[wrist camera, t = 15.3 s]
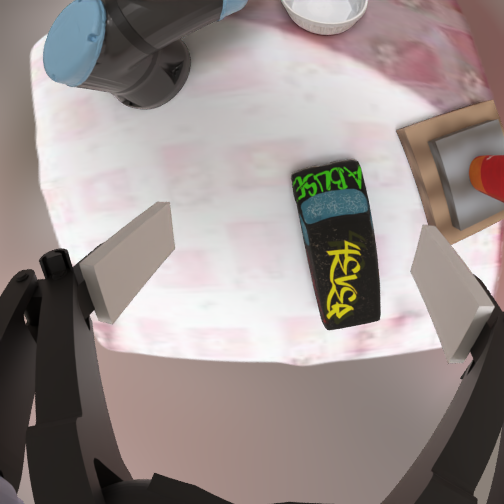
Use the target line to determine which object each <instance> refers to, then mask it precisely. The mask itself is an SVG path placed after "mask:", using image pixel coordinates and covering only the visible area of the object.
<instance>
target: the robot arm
mask: <svg viewBox="0 0 504 504" xmlns="http://www.w3.org/2000/svg"><path fill="white" fill-rule="evenodd" d="M247 1H248V0H75V1H73V2H72V3H70V4H69V5H68V6H67V7H66V8H65V9H64V10H63V11H62V12H61V13H60V14H59V15H58V17H57V18H56V20H55V21H54V23H53V25H52V27H51V28H50V31H49V33H48V36H47V39H46V42H45V45H44V51H43V63H44V68H45V71H46V73H47V75H48V76H49V77H50V78H51V79H52V80H53V81H55V82H58V83H62V84H66V85H67V86H70V87H79V88H86V89H92V90H98V91H104V92H110V93H112V94H113V95H114V96H115V97H116V98H117V99H118V100H119V101H120V102H121V103H123V104H124V105H126V106H129V107H132V108H137V109H152V108H156V107H159V106H161V105H163V104H165V103H166V102H168V101H169V100H171V99H172V98H173V97H174V96H175V95H176V94H177V93H178V92H179V91H180V89H181V88H182V87H183V85H184V83H185V81H186V79H187V77H188V74H189V70H190V54H189V51H188V48H187V47H186V45H185V44H184V43H183V41H181V40H180V38H182V37H184V36H186V35H188V34H190V33H192V32H194V31H196V30H198V29H200V28H202V27H204V26H206V25H208V24H211V23H213V22H215V21H221V20H222V19H223V18H224V17H226V16H228V15H230V14H232V13H234V12H237V11H239V10H241V9H242V8H243V7H244V6H245V5H246V3H247ZM174 249H175V243H174V235H173V227H172V218H171V208H170V202H156V203H155V204H154V205H152V206H151V207H150V208H148V209H147V210H146V211H144V212H143V213H142V214H140V215H139V216H138V217H136V218H135V219H134V220H132V221H131V222H130V223H128V224H127V225H126V226H124V227H123V228H122V229H121V230H119V231H118V232H117V233H116V234H114V235H113V236H112V237H111V238H109V239H108V240H107V241H106V242H104V243H102V244H100V245H99V246H97V247H96V248H95V249H94V250H93V251H91V252H90V253H89V254H88V256H85V257H84V258H83V259H82V260H81V261H79V262H78V263H77V264H76V265H75V266H74V267H72V264H71V261H70V257H69V254H68V251H67V250H66V249H61V248H60V249H55V250H52V251H49V252H48V253H46V254H44V255H43V256H42V257H41V258H40V260H39V262H40V265H41V268H42V271H43V273H44V276H45V279H40V280H39V279H38V280H37V277H36V275H35V272H34V270H32V269H27V270H22V271H21V272H20V271H19V272H18V273H17V274H16V275H15V276H13V278H12V279H11V280H10V282H9V284H8V285H7V287H6V288H5V290H4V291H3V293H2V294H1V296H0V504H24V503H23V501H22V500H21V499H20V498H18V497H17V492H18V489H19V485H20V481H21V476H22V470H23V462H24V452H25V445H26V449H27V459H28V467H29V474H30V481H31V487H32V492H33V497H34V502H35V504H233V503H231V502H228V501H226V500H224V499H222V498H220V497H217V496H215V495H213V494H211V493H209V492H207V491H205V490H203V489H201V488H199V487H197V486H195V485H192V484H188V483H185V482H181V481H178V480H175V479H172V478H168V477H165V476H162V475H159V474H157V473H154V475H153V477H152V479H151V480H149V479H137V480H133V478H132V476H131V474H130V472H129V471H128V469H127V467H126V466H125V464H124V462H123V460H122V458H121V455H120V452H119V449H118V446H117V443H116V439H115V436H114V433H113V429H112V425H111V421H110V417H109V413H108V409H107V405H106V401H105V396H104V392H103V387H102V382H101V377H100V372H99V366H98V360H97V354H96V348H95V341H94V333H93V325H92V320H91V318H90V314H91V313H92V312H93V311H94V310H95V313H96V315H97V318H98V320H99V321H101V322H105V323H108V324H112V325H113V324H114V322H115V321H116V320H117V318H118V317H119V316H120V315H121V313H122V312H123V311H124V310H125V308H126V307H127V306H128V305H129V303H130V302H131V301H132V300H133V298H134V297H135V296H136V295H137V293H138V292H139V291H140V290H141V288H142V287H143V286H144V285H145V284H146V282H147V281H148V280H149V279H150V278H151V276H152V275H153V274H154V273H155V272H156V270H157V269H158V268H159V267H160V266H161V264H162V263H163V262H164V261H165V260H166V258H167V257H168V256H169V255H170V254H171V253H172V251H173V250H174ZM410 272H411V274H412V276H413V278H414V280H415V282H416V284H417V287H418V289H419V291H420V293H421V296H422V298H423V300H424V302H425V305H426V307H427V309H428V312H429V314H430V317H431V319H432V322H433V324H434V327H435V329H436V332H437V334H438V337H439V340H440V342H441V345H442V348H443V350H444V353H445V356H446V359H447V362H448V364H452V363H463V362H464V361H465V359H466V358H467V356H468V354H469V353H470V352H471V354H472V357H473V360H472V362H471V363H470V365H469V366H468V368H467V369H466V371H465V372H464V374H463V375H462V376H461V378H460V379H463V380H462V382H461V384H460V386H459V388H458V390H457V392H456V394H455V396H454V398H453V400H452V402H451V404H450V406H449V407H448V409H447V411H446V413H445V415H444V416H443V418H442V420H441V422H440V423H439V425H438V427H437V428H436V430H435V432H434V433H433V435H432V436H431V438H430V440H429V441H428V443H427V444H426V446H425V447H424V449H423V450H422V452H421V453H420V455H419V456H418V458H417V459H416V460H415V462H414V463H413V465H412V466H411V467H410V469H409V470H408V471H407V473H406V474H405V475H404V477H403V478H402V479H401V480H400V482H399V483H398V484H397V485H396V487H395V488H394V489H393V490H392V492H391V493H390V494H389V495H388V496H387V498H386V499H385V500H384V501H383V502H382V503H381V504H477V498H476V497H474V496H473V494H474V491H475V488H476V486H477V484H478V482H479V480H480V478H481V476H482V474H483V472H484V470H485V468H486V465H487V463H488V461H489V459H490V456H491V454H492V452H493V449H494V447H495V444H496V441H497V439H498V436H499V433H500V431H501V428H502V432H501V440H500V446H499V452H498V458H497V463H496V468H495V473H494V477H493V481H492V485H491V489H490V493H489V497H488V500H487V504H504V312H502V310H501V309H500V307H499V306H498V304H497V302H496V301H495V299H494V298H493V296H492V295H491V293H490V292H489V290H487V288H486V286H485V285H484V283H483V282H482V281H481V280H480V279H479V278H478V277H477V276H475V275H474V274H472V272H471V271H470V269H469V268H468V267H467V265H466V264H465V263H464V261H463V260H462V259H461V257H460V256H459V255H458V254H457V252H456V251H455V250H454V248H453V247H452V246H451V245H450V243H449V242H448V241H447V240H446V238H445V237H444V236H443V235H442V234H441V232H440V231H439V230H438V229H437V228H436V226H430V225H423V226H422V230H421V234H420V238H419V242H418V246H417V250H416V253H415V257H414V260H413V264H412V267H411V271H410ZM24 315H25V317H26V319H27V323H26V324H25V321H24ZM34 394H35V405H36V425H35V426H30V427H28V425H29V419H30V414H31V409H32V404H33V399H34ZM275 504H316V503H297V502H285V503H275ZM317 504H319V503H317Z"/></svg>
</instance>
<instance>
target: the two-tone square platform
mask: <svg viewBox="0 0 504 504" xmlns="http://www.w3.org/2000/svg"><path fill="white" fill-rule="evenodd" d="M396 132H397V134H398V136H399V139H400V141H401V144H402V146H403V149H404V151H405V154H406V157H407V159H408V162H409V165H410V167H411V170H412V173H413V176H414V179H415V182H416V185H417V188H418V191H419V194H420V197H421V201H422V204H423V207H424V211H425V214H426V218H427V222H428V225H430V226H436V228H437V229H438V230H439V231H440V232H441V234H442V235H443V236H444V237H445V238H446V240H447V241H448V242H449V243H450V245H452V244H454V243H456V242H458V241H461V240H463V239H465V238H467V237H469V236H471V235H473V234H475V233H477V232H479V231H481V230H483V229H485V228H487V227H489V226H491V225H493V224H495V223H497V222H499V221H500V220H502V219H504V203H503V202H501V201H499V200H497V199H494V198H492V197H490V196H488V195H486V194H484V193H482V192H480V191H478V190H476V189H475V188H474V187H473V185H472V184H471V181H470V178H469V168H470V164H471V162H472V161H473V159H474V158H476V157H478V156H484V155H504V130H503V126H502V123H501V120H500V117H499V115H498V112H497V109H496V106H495V104H494V101H493V100H489V101H484V102H480V103H477V104H473V105H470V106H467V107H464V108H460V109H457V110H454V111H451V112H448V113H445V114H442V115H439V116H436V117H433V118H430V119H427V120H424V121H421V122H418V123H415V124H413V125H410V126H407V127H404V128H401V129H399V130H396Z"/></svg>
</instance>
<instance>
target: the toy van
mask: <svg viewBox="0 0 504 504" xmlns="http://www.w3.org/2000/svg"><path fill="white" fill-rule="evenodd" d="M291 179H292V187H293V193H294V197H295V201H296V203H297V208H298V213H299V218H300V223H301V228H302V233H303V239H304V243H305V248H306V253H307V258H308V263H309V268H310V273H311V277H312V282H313V286H314V291H315V295H316V299H317V303H318V308H319V312H320V316H321V320H322V322H323V324H324V326H325V328H326V329H327V330H335V329H341V328H346V327H351V326H356V325H361V324H367V323H371V322H375V321H378V320H380V313H381V310H380V280H379V269H378V259H377V250H376V243H375V235H374V229H373V223H372V217H371V211H370V206H369V200H368V196H367V191H366V187H365V183H364V179H363V175H362V170H361V167H360V165H359V163H358V161H357V160H355V159H347V160H341V161H335V162H331V163H330V164H327V165H322V166H311V167H307V168H304V169H301V170H298V171H296V172H293V173H292V174H291Z"/></svg>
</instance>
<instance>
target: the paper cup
mask: <svg viewBox="0 0 504 504" xmlns="http://www.w3.org/2000/svg"><path fill="white" fill-rule="evenodd" d="M469 178H470V181H471V184H472V185H473V187H474V188H475V189H476V190H478V191H480V192H482V193H484V194H486V195H488V196H490V197H492V198H494V199H497V200H499V201H501V202H503V203H504V155H484V156H478V157H476V158H474V159H473V161H472V162H471V164H470V168H469Z"/></svg>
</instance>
